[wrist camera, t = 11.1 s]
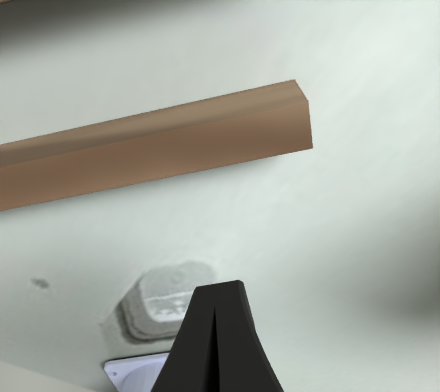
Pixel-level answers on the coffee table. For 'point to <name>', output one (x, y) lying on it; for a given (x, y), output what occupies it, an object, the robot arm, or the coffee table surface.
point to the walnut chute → (156, 145)
